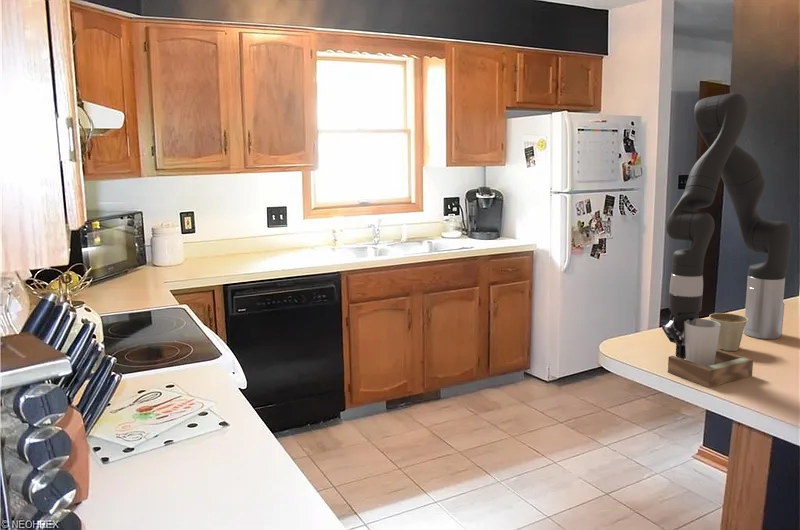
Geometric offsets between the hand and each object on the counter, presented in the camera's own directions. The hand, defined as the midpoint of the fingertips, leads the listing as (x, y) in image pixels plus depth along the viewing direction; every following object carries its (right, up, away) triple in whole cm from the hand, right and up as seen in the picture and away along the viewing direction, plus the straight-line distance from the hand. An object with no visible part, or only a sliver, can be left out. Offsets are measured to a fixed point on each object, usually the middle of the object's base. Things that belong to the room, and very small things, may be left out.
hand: (681, 358), depth 155 cm
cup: (+3, -2, -4) cm, 5 cm away
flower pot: (+18, +1, +12) cm, 22 cm away
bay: (+4, -3, -7) cm, 8 cm away
